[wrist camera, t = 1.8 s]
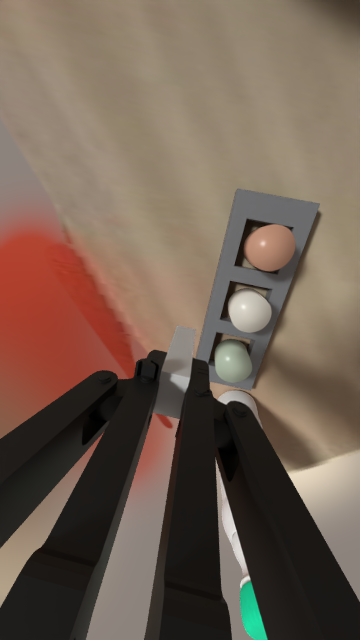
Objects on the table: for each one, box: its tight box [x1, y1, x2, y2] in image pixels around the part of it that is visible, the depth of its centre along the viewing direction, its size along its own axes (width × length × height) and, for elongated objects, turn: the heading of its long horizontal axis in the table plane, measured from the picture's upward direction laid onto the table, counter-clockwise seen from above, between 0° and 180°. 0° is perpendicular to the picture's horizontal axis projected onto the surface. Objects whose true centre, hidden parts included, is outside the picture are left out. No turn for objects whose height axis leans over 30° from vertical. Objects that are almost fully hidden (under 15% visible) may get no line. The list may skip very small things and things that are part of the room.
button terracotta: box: [243, 224, 295, 271], centre depth 26 cm, size 5×5×4 cm
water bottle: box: [218, 390, 267, 640], centre depth 28 cm, size 7×7×25 cm
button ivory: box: [228, 288, 272, 333], centre depth 29 cm, size 5×5×4 cm
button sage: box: [214, 339, 252, 383], centre depth 32 cm, size 5×5×4 cm
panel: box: [195, 189, 320, 391], centre depth 32 cm, size 28×10×2 cm, turn 170°
